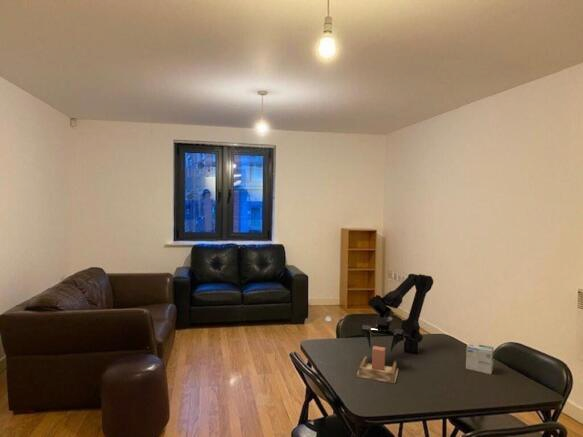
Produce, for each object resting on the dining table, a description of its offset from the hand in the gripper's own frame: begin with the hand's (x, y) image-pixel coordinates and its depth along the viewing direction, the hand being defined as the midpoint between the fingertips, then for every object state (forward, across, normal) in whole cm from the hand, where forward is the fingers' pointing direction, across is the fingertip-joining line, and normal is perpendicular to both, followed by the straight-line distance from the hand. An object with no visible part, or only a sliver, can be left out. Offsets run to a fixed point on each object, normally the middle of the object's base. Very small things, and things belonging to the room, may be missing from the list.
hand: (380, 350), depth 177 cm
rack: (+9, 0, +3) cm, 10 cm away
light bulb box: (-7, +42, +20) cm, 47 cm away
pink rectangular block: (+9, 0, +2) cm, 9 cm away
